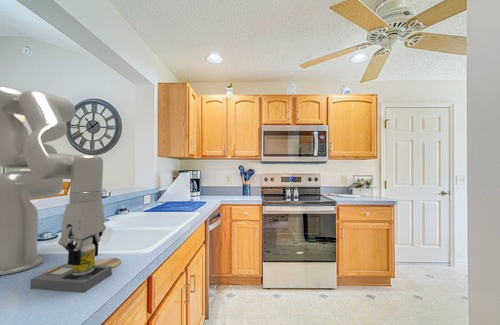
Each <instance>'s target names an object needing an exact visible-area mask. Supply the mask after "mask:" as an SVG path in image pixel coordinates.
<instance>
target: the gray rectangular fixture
mask: <svg viewBox="0 0 500 325" xmlns="http://www.w3.org/2000/svg"><path fill="white" fill-rule="evenodd" d="M112 270H113V268H112V266H97V265H95V268H94V270H93V271H92V272H90V273H88V274H84V275H73V274H72V265H69V264H68V263H63V264H61V265H59V266H57V267H53V268H51V269H49V270H47V271H46V272H44V273H41V274H39V275H37V276H34V277H32V278H30V289H35V290H49V291H62V292H75V293H85V292H86V291H88V290H90V289H91V288H93V287H95V286H97V285H98V284H99V283H101V282H102V281H103V280H106V279H107V278H108V277H110V276H112V273H113V271H112ZM82 276H90V277H89V278H86V279H79V278H81V277H82Z"/></svg>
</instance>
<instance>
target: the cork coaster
mask: <svg viewBox="0 0 500 325" xmlns="http://www.w3.org/2000/svg"><path fill="white" fill-rule="evenodd" d="M121 263H122V259H120V258H118V257H117V258H116V257H108V258H103V259H98V260H95V265H97V266H112V269H114V268H116V267H118V266H120V265H121Z"/></svg>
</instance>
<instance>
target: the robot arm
mask: <svg viewBox="0 0 500 325" xmlns="http://www.w3.org/2000/svg"><path fill="white" fill-rule="evenodd" d="M15 115H20V116H24V118H25V119H26V122H27V123H28V125H29V127H30V129H31V131H32V132H30V133H29V130H28V128H27V127H26V125H25V124H24V122H22V121H21V120H20V119H19V118H18V117H16V116H15ZM75 115H76V109H75V105H74V104H73V103H72V102H71V101H70V100H69V99H67V98H65V97H61V96H57V95H54V94H51V93H47V92H44V91H39V90H22V89H18V88H13V87H10V86H3V85H0V167H1V168H5V169H15V171H8V172H3V173H1V174H0V276H5V275H10V274H16V273H20V272H23V271H27V270H30V269H33V268H34V267H38V266H39V265H40V264H43V260H44V258H43V257H42V256H37V255H38V254H37V253H38V230H39V227H38V224H39V223H38V222H39V221H38V220H39V212H38V208H37V207H36V206H35V205H34V203H32V201H31V200H32V199H33V200H34V199H41V198H42V199H43V198H51V197H56V196H57V195H59V194H60V193H62V191H63V188H64V180H70V182H69V183H70V188H69V202H68V203H66V206H65V209H64V212H63V213H64V214H63V217H62V224H61V237H59V240H58V241H57V243H58V244H59V245H60V246H61V247H63V248H64V249H65V250H66V251H67V252H68V256H67V264H69V265H79V264H80V257H81V250H79V247H80V243H81V240H82V239H83V238H86V237H89V236H91V237H93V241H92V243H93V244H94V245H95V257H98V254H99V243H100V242H101V237H102V236H103V233H105V230H106V229H107V226H106V224H104V221H105V220H104V219H105V217H104V216H105V215H104V204H103V200H102V197H103V176H104V175H103V172H104V160H103V157H101V156H99V155H92V154H91V155H90V154H70V153H58V151H57V149H56V148H54V147H53V146H52V145H51V144H48V142H53V141H56V140H59V139H61V138H63V137H64V136H65V135H67V132H68V126H67V124H66V123H68V122H70V121H72V120H73V119H74V118H75ZM16 169H17V171H16ZM18 169H20V170H21V169H22V170H21V171H19V170H18ZM23 169H26V171H25V170H23ZM74 242H75V243H74Z"/></svg>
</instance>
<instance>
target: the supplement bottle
mask: <svg viewBox="0 0 500 325" xmlns="http://www.w3.org/2000/svg"><path fill="white" fill-rule="evenodd" d="M92 241H93V237H91V236H89V237H86V238H83V239H82V240H81V243H80V247H79V250H81V257H80V264H79V265H72V274H73V275H83V276H85V275H84V274H88V273H90V272H92V271H93V270H94V268H95V262H96V260H95V259H96V256H95V245H94V244H93V243H92Z"/></svg>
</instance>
